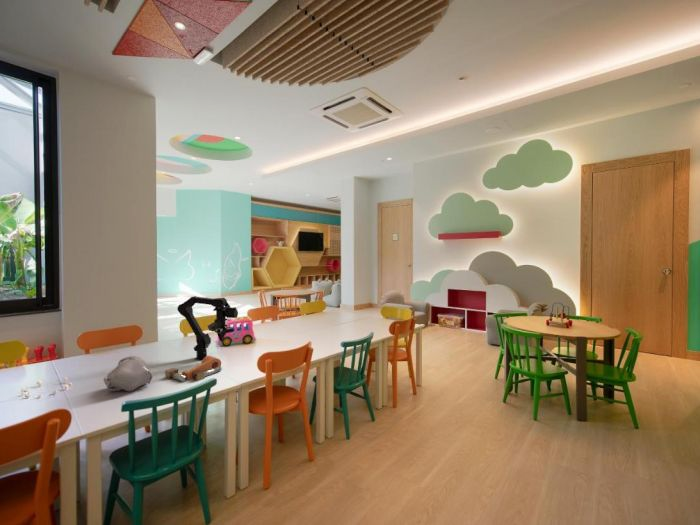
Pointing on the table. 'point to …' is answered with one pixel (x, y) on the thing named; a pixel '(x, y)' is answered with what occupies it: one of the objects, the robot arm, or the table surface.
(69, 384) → the game piece set
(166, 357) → the table surface
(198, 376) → the shaft
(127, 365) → the grey rock
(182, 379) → the hex bolt
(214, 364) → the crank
